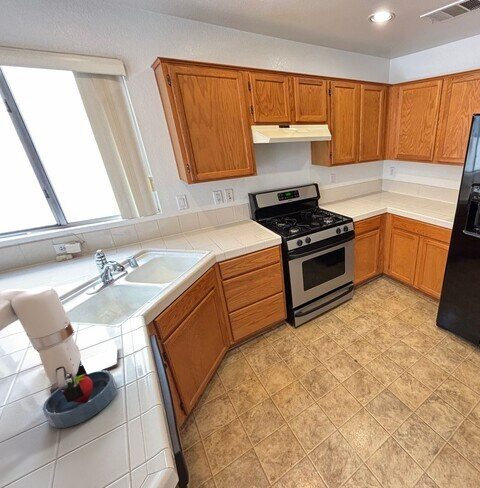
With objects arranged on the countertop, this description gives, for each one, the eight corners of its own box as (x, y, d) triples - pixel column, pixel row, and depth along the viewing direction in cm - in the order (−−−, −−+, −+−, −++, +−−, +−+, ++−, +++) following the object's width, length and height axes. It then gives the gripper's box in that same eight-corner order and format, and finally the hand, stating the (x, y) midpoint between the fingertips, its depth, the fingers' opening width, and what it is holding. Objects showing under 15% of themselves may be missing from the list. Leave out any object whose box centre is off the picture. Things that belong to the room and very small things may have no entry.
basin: (44, 441, 64) (36, 426, 63) (56, 400, 75) (49, 387, 74) (117, 407, 72) (111, 393, 70) (118, 375, 83) (113, 362, 82)
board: (51, 393, 78) (49, 390, 78) (58, 372, 86) (56, 370, 85) (117, 366, 87) (116, 363, 86) (118, 350, 94) (117, 347, 94)
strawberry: (73, 418, 69) (58, 389, 66) (69, 402, 74) (55, 375, 70) (101, 402, 73) (88, 374, 70) (95, 388, 78) (83, 361, 75)
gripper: (40, 325, 71) (65, 375, 76) (20, 362, 57) (53, 420, 63) (77, 314, 75) (98, 363, 81) (66, 346, 61) (93, 402, 67)
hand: (78, 388), depth 72 cm, fingers closed on strawberry, 7 cm apart
